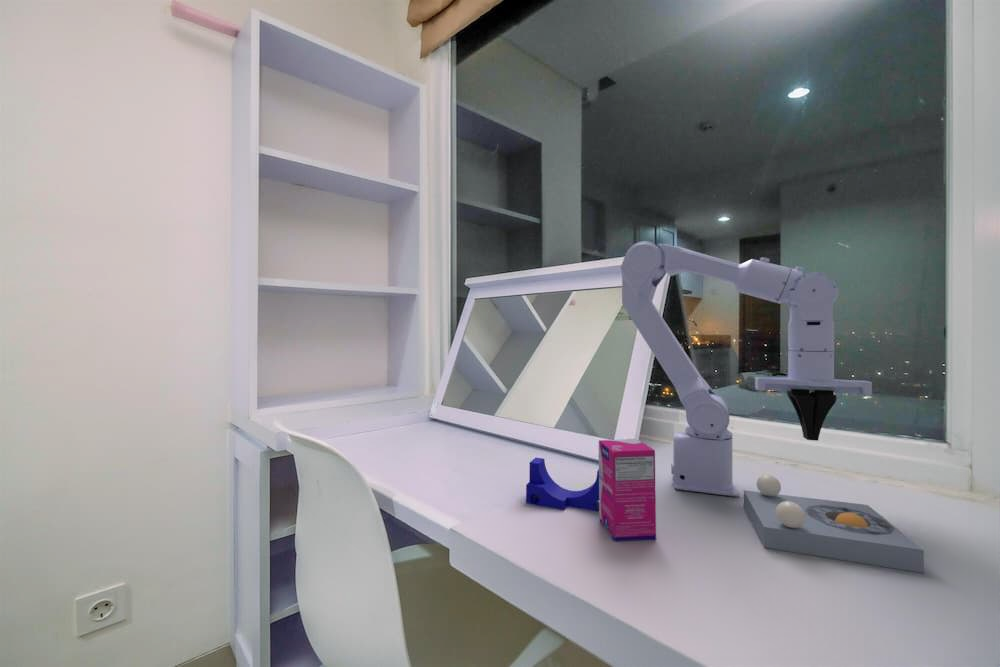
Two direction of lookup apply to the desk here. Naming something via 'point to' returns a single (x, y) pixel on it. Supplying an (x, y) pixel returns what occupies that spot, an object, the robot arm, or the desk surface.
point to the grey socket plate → (833, 532)
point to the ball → (851, 520)
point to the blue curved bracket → (558, 491)
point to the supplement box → (627, 489)
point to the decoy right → (790, 514)
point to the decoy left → (768, 485)
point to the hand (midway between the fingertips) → (810, 438)
